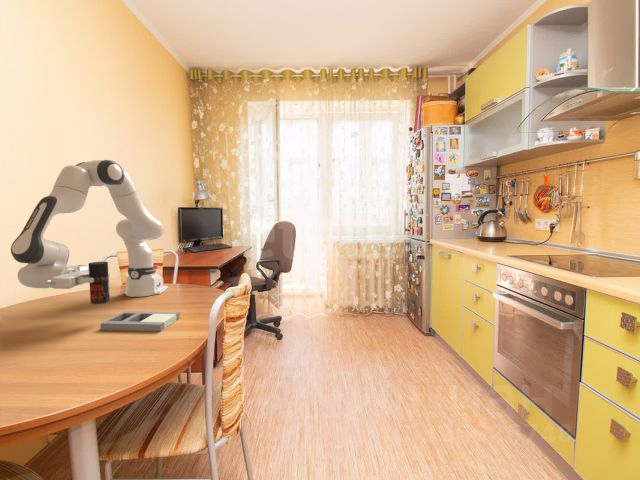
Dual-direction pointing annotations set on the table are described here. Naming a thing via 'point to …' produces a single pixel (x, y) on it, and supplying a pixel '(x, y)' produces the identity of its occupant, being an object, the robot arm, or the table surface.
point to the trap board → (140, 321)
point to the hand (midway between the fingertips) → (101, 277)
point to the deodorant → (99, 282)
